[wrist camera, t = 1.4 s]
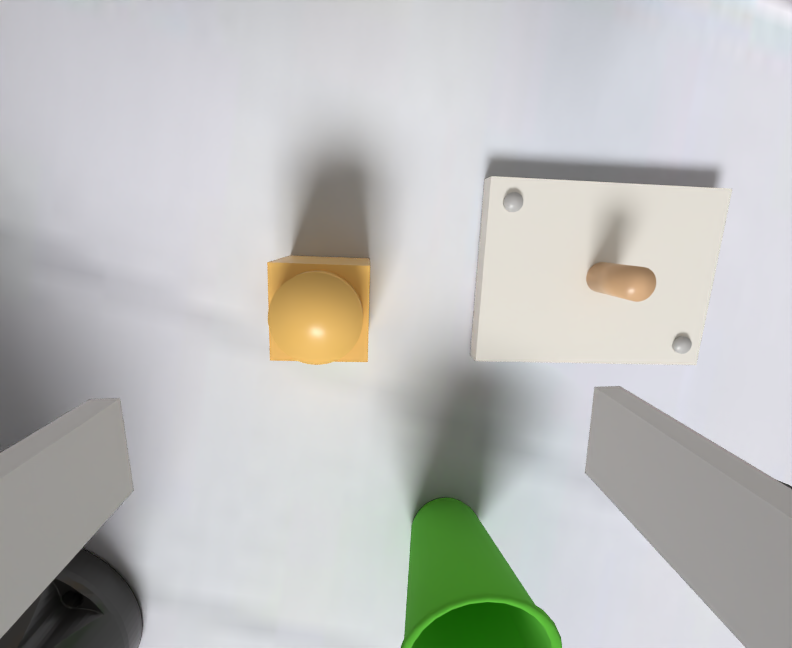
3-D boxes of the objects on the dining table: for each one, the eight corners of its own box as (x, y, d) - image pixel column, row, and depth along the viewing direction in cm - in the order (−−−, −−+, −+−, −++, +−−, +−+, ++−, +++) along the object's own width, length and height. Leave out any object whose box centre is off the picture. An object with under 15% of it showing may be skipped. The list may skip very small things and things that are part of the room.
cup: (415, 457, 31) (440, 575, 20) (519, 496, 32) (595, 626, 22) (368, 553, 33) (369, 709, 22) (469, 586, 34) (517, 749, 23)
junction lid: (470, 354, 30) (493, 381, 24) (484, 179, 27) (513, 166, 22) (680, 358, 31) (746, 385, 25) (713, 191, 28) (794, 181, 23)
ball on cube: (291, 331, 28) (263, 369, 21) (290, 255, 27) (259, 264, 19) (367, 333, 29) (367, 371, 21) (369, 258, 28) (370, 268, 20)
